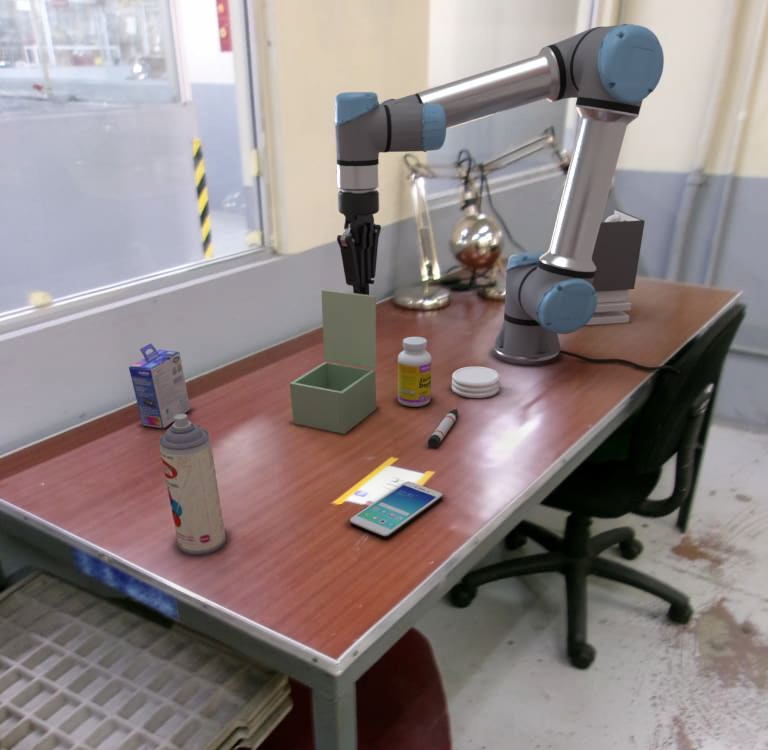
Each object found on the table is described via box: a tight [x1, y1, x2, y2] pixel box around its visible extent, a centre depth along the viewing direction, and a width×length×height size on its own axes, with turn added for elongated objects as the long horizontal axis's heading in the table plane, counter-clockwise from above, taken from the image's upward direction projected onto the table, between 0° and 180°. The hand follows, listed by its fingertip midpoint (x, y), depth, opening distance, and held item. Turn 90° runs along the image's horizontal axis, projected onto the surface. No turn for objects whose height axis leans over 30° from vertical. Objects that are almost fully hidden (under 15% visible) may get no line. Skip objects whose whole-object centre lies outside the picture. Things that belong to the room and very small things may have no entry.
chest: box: [289, 361, 377, 435], centre depth 144 cm, size 13×11×8 cm
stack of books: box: [585, 209, 645, 326], centre depth 193 cm, size 16×19×25 cm
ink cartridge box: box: [128, 343, 191, 429], centre depth 144 cm, size 10×6×14 cm, turn 161°
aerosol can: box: [159, 413, 227, 556], centre depth 104 cm, size 7×7×20 cm
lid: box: [320, 289, 377, 369], centre depth 144 cm, size 14×11×1 cm
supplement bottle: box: [397, 336, 432, 408], centre depth 149 cm, size 7×7×13 cm
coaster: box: [451, 365, 501, 399], centre depth 156 cm, size 10×10×4 cm
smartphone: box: [349, 480, 443, 540], centre depth 115 cm, size 8×1×15 cm
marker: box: [427, 408, 459, 449], centre depth 140 cm, size 15×2×2 cm, turn 159°
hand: (361, 318), depth 147 cm, fingers closed
